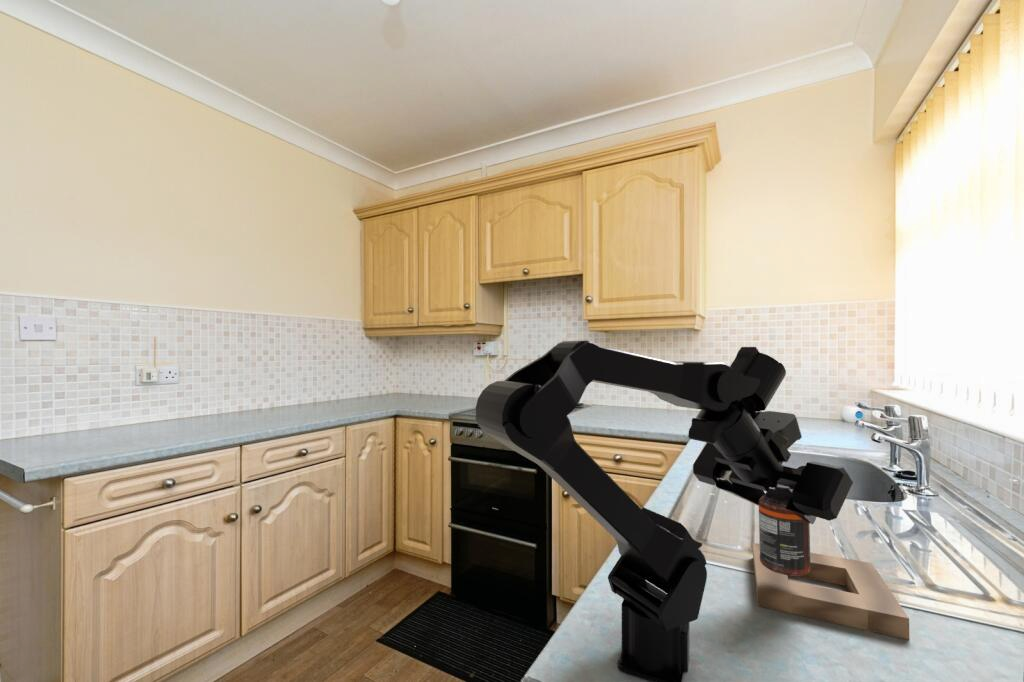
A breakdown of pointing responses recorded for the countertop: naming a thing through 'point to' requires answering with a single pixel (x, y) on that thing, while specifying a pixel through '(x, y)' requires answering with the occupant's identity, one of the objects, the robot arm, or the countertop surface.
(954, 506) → the countertop surface
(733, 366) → the robot arm
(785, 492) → the supplement bottle
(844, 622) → the square wooden frame
